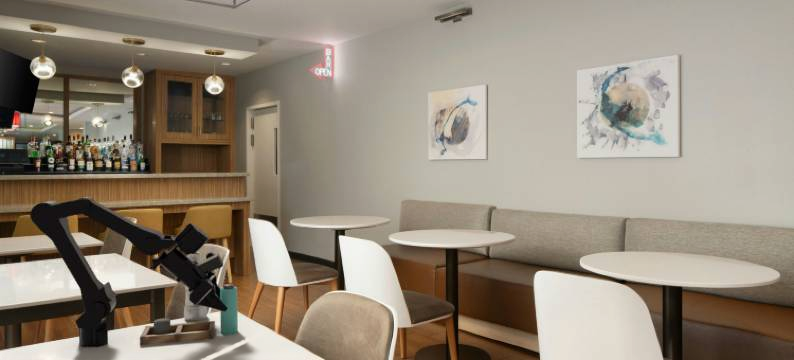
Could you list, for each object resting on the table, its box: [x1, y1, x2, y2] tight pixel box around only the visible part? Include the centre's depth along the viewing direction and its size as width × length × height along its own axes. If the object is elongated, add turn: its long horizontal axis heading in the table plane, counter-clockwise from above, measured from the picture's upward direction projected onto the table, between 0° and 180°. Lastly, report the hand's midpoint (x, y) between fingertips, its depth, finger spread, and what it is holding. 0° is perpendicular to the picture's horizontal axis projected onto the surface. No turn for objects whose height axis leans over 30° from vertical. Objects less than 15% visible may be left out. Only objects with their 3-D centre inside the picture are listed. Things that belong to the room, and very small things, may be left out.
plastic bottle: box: [183, 252, 208, 322], centre depth 164 cm, size 6×7×20 cm
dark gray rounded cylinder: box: [153, 317, 171, 335], centre depth 146 cm, size 4×4×4 cm
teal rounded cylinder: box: [219, 283, 239, 336], centre depth 151 cm, size 4×4×14 cm
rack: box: [139, 320, 216, 346], centre depth 148 cm, size 18×9×3 cm, turn 106°
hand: (226, 305), depth 151 cm, fingers open, 9 cm apart
